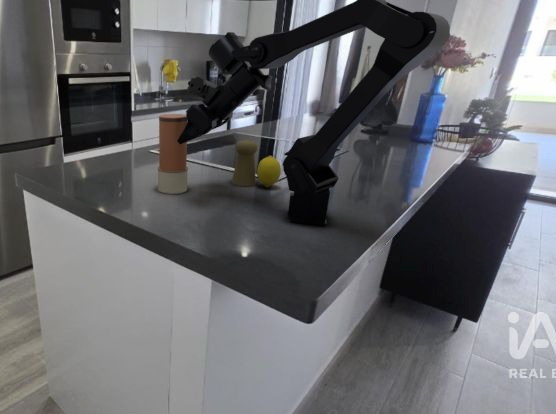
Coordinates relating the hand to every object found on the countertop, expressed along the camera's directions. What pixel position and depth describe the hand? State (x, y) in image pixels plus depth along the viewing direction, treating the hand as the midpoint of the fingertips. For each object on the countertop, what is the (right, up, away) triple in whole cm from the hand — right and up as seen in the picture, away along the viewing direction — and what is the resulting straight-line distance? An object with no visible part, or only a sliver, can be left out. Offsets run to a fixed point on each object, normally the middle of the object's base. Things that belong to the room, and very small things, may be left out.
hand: (185, 139), depth 89 cm
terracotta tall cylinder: (-3, -6, +4) cm, 8 cm away
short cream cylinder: (-3, -11, +6) cm, 13 cm away
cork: (+16, -10, +10) cm, 21 cm away
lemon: (+21, -11, +6) cm, 25 cm away
